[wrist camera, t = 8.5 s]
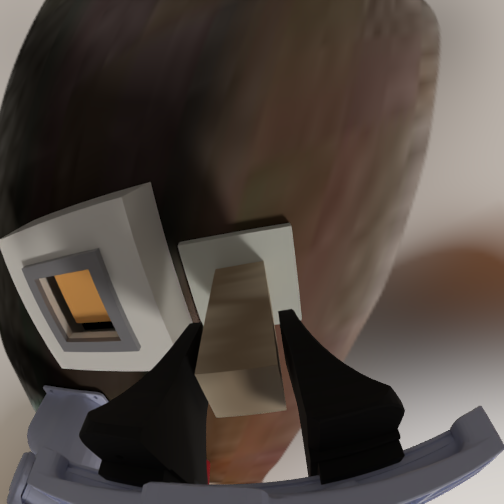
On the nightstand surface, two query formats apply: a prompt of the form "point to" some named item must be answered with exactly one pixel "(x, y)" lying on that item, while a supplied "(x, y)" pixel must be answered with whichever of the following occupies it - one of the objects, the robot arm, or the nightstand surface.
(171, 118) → the nightstand surface
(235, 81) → the nightstand surface
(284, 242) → the pad
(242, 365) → the wooden building block
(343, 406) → the robot arm
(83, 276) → the button
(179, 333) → the guard housing
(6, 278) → the nightstand surface
